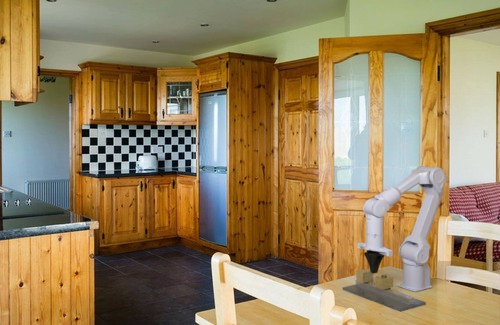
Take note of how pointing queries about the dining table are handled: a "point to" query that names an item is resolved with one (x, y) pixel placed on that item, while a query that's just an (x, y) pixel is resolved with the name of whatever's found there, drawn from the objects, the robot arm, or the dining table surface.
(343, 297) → the dining table surface
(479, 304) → the dining table surface
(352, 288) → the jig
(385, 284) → the tan holed block
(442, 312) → the dining table surface
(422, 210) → the robot arm
